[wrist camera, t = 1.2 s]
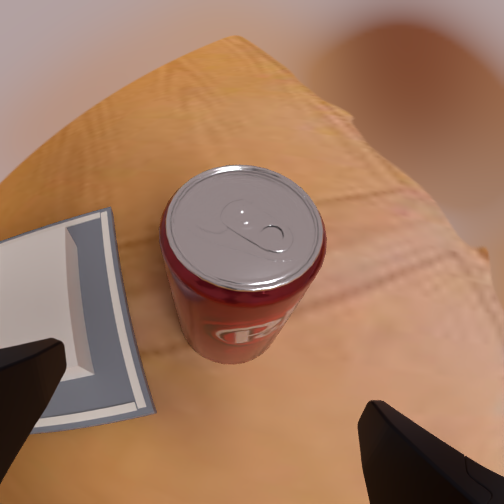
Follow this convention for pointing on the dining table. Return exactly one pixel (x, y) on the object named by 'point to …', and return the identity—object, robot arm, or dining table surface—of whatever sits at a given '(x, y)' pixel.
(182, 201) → the soda can
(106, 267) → the base
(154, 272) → the dining table surface
